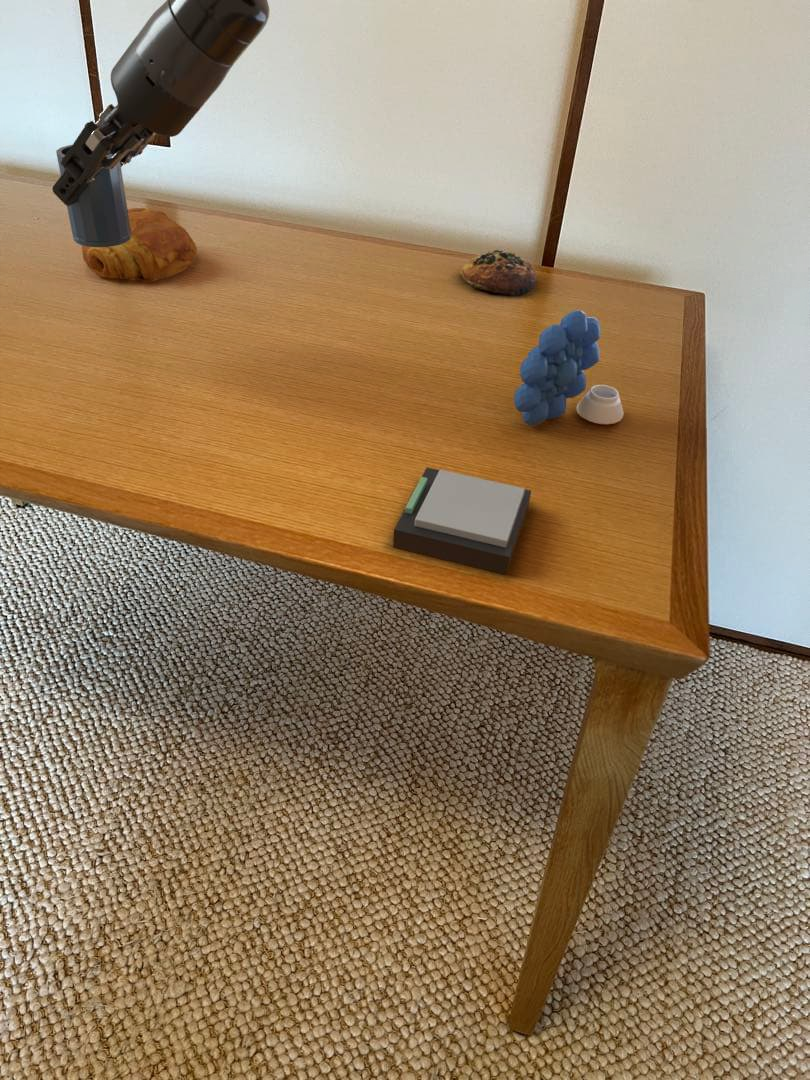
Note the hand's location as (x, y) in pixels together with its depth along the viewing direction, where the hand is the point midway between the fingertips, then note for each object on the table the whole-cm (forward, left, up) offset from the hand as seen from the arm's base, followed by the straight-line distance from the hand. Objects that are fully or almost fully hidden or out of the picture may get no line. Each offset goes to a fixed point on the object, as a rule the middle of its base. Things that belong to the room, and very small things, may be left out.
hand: (78, 188), depth 83 cm
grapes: (+42, -28, -18) cm, 54 cm away
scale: (+25, -43, -18) cm, 53 cm away
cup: (+1, -1, -5) cm, 5 cm away
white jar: (+48, -30, -18) cm, 59 cm away
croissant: (+8, +25, -18) cm, 32 cm away
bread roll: (+55, +7, -18) cm, 58 cm away
